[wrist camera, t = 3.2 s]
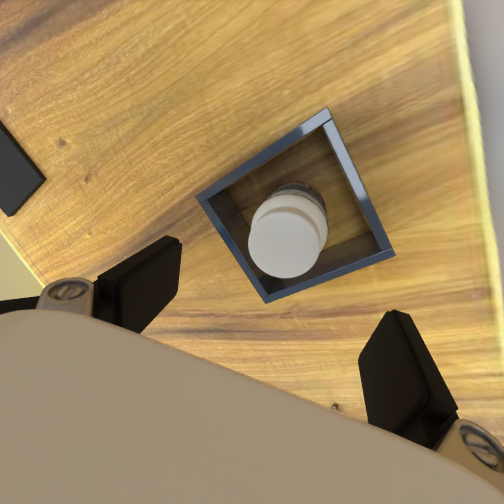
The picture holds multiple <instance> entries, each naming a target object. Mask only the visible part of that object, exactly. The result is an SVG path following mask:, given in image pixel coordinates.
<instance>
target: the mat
mask: <svg viewBox="0 0 504 504" xmlns="http://www.w3.org/2000/svg"><path fill="white" fill-rule="evenodd" d="M45 180H46V178H45V176H44V175H43V174H42V173H41V171H40V170H39V169H38V168H37V166H36V165H35V164H34V163H33V161H32V160H31V159H30V158H29V156H28V155H27V154H26V153H25V152H24V150H23V149H22V148H21V147H20V145H19V144H18V143H17V142H16V140H15V139H14V138H13V137H12V135H11V134H10V133H9V132H8V130H7V129H6V128H5V127H4V125H3V124H2V123H1V122H0V208H1V210H2V211H3V212H4V213H5V214H6V215H7V216H8V217H10V216H13V215H14V214H15V213H16V212H17V211H18V209H19V208H20V207H21V206H22V205H23V204H24V203H25V202H26V201H27V200H28V199H29V197H30V196H31V195H32V194H33V193H34V192H35V191H36V190H37V189H38V188H39V187H40V186H41V184H42V183H43V182H44V181H45Z"/></svg>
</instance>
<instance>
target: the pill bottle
mask: <svg viewBox="0 0 504 504" xmlns="http://www.w3.org/2000/svg"><path fill="white" fill-rule="evenodd" d="M327 235H328V223H327V217H326V210H325V205H324V201H323V199H322V197H321V195H320V194H319V192H318V191H317V190H316V189H315V188H313V187H312V186H310V185H308V184H306V183H302V182H290V183H286V184H284V185H282V186H280V187H278V188H277V189H276V190H275V191H274V192H273V193H272V194H271V195H270V196H269V197H268V198H267V199H266V201H265V202H264V203H263V204H262V205H261V206H260V207H259V208H258V209H257V211H256V212H255V214H254V217H253V220H252V224H251V232H250V235H249V239H248V248H249V252H250V255H251V257H252V259H253V261H254V262H255V264H256V265H257V266H258V267H259V268H260V269H261V270H262V271H264V272H265V273H267V274H269V275H271V276H274V277H278V278H293V277H297V276H300V275H302V274H304V273H305V272H307V271H308V270H309V269H310V268H311V267H312V266H313V265H314V264H315V262H316V260H317V258H318V256H319V253H320V252H321V250H322V249H323V247H324V245H325V243H326V240H327Z"/></svg>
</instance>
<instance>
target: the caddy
mask: <svg viewBox="0 0 504 504" xmlns="http://www.w3.org/2000/svg"><path fill="white" fill-rule="evenodd" d="M320 128H321V130H322V132H323V134H324V136H325V138H326V140H327V142H328V144H329V146H330V148H331V151H332V153H333V155H334V157H335V159H336V161H337V163H338V165H339V167H340V169H341V171H342V174H343V176H344V178H345V180H346V182H347V184H348V186H349V188H350V190H351V192H352V194H353V197H354V199H355V201H356V203H357V205H358V207H359V209H360V211H361V213H362V215H363V218H364V220H365V222H366V224H367V226H368V228H369V230H370V231H369V232H367V233H364V234H362V235H360V236H357V237H355V238H353V239H350V240H348V241H346V242H343V243H341V244H339V245H336V246H334V247H332V248H329V249H327V250H324V251H322V252H320V253H319V256H318V258H317V260H316V262H315V264H314V265H313V266H312V267H311V268H310V269H309V270H308V271H307V272H305V273H304V274H302V275H300V276H297V277H293V278H278V277H274V276H271V275H269V274H267V273H265V272H264V271H262V270H261V269H260V268H259V267H258V266H257V265H256V264H255V262H254V261H253V259H252V257H251V255H250V252H249V248H248V239H249V235H250V232H251V230H250V228H249V226H248V225H247V223H246V221H245V220H244V218H243V217H242V215H241V213H240V212H239V210H238V208H237V207H236V205H235V204H234V202H233V200H232V199H231V197H230V195H229V194H228V192H227V191H226V189H228V188H229V187H231V186H232V185H234V184H235V183H237V182H238V181H240V180H242V179H243V178H245V177H246V176H248V175H249V174H251V173H252V172H254V171H255V170H257V169H259V168H260V167H262V166H263V165H265V164H266V163H268V162H269V161H271V160H272V159H274V158H276V157H277V156H279V155H280V154H282V153H283V152H285V151H286V150H288V149H289V148H291V147H293V146H294V145H296V144H297V143H299V142H300V141H302V140H303V139H305V138H306V137H308V136H310V135H311V134H313V133H314V132H316V131H317V130H319V129H320ZM195 197H196V199H197V200H198V202H199V203H200V205H201V207H202V208H203V210H204V211H205V213H206V214H207V216H208V217H209V219H210V220H211V222H212V223H213V225H214V226H215V228H216V229H217V231H218V233H219V234H220V236H221V237H222V239H223V240H224V242H225V243H226V245H227V246H228V248H229V249H230V251H231V252H232V254H233V255H234V257H235V259H236V260H237V262H238V263H239V265H240V266H241V268H242V269H243V271H244V272H245V274H246V275H247V277H248V278H249V280H250V282H251V283H252V285H253V286H254V288H255V289H256V291H257V292H258V294H259V295H260V297H261V298H262V300H263V301H264V303H265V304H267V303H270V302H272V301H275V300H278V299H280V298H283V297H286V296H289V295H291V294H294V293H297V292H299V291H302V290H305V289H307V288H310V287H313V286H316V285H318V284H321V283H324V282H326V281H329V280H332V279H334V278H337V277H340V276H342V275H345V274H348V273H351V272H353V271H356V270H359V269H361V268H364V267H367V266H369V265H372V264H375V263H378V262H380V261H383V260H386V259H388V258H391V257H394V256H396V254H395V252H394V250H393V248H392V246H391V243H390V241H389V239H388V237H387V235H386V232H385V230H384V228H383V226H382V224H381V222H380V219H379V217H378V215H377V213H376V211H375V209H374V206H373V204H372V202H371V200H370V198H369V196H368V193H367V191H366V189H365V187H364V185H363V183H362V180H361V178H360V176H359V174H358V172H357V170H356V167H355V165H354V163H353V161H352V159H351V157H350V154H349V152H348V150H347V148H346V146H345V143H344V141H343V139H342V137H341V135H340V133H339V130H338V128H337V126H336V124H335V122H334V120H333V118H332V115H331V113H330V111H329V109H328V107H326V108H324V109H323V110H321V111H320V112H318V113H317V114H315V115H314V116H312V117H311V118H309V119H308V120H306V121H305V122H304V123H302V124H301V125H299V126H298V127H296V128H295V129H293V130H292V131H290V132H289V133H287V134H286V135H284V136H283V137H281V138H280V139H278V140H277V141H276V142H274V143H273V144H271V145H270V146H268V147H267V148H265V149H264V150H262V151H261V152H259V153H258V154H256V155H255V156H253V157H252V158H250V159H249V160H247V161H246V162H245V163H243V164H242V165H240V166H239V167H237V168H236V169H234V170H233V171H231V172H230V173H228V174H227V175H225V176H224V177H222V178H221V179H219V180H218V181H217V182H215V183H214V184H212V185H211V186H209V187H208V188H206V189H205V190H203V191H202V192H200V193H199V194H197V195H196V196H195Z"/></svg>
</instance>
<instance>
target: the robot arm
mask: <svg viewBox="0 0 504 504" xmlns="http://www.w3.org/2000/svg"><path fill="white" fill-rule="evenodd" d="M181 253H182V244H181V243H179V239H177V238H174V237H171V236H167V235H166V236H164V237H162V238H161V239H159V240H157V241H156V242H154V243H152V244H151V245H149V246H147V247H146V248H144V249H142V250H141V251H139V252H137V253H136V254H134V255H132V256H131V257H129V258H127V259H126V260H124V261H122V262H121V263H119V264H117V265H116V266H114V267H112V268H111V269H109V270H107V271H106V272H104V273H103V274H101V275H99V276H98V280H96V281H94V282H93V283H92V282H91V281H89V280H87V279H84V278H79V277H71V278H64V279H60V280H57V281H54V282H52V283H50V284H49V285H47V286H46V287H45V288H44V289H43V291H42V293H41V295H40V296H36V297H28V298H20V299H12V300H4V301H0V504H504V446H503V445H502V444H501V443H500V442H499V441H498V440H497V439H496V438H495V437H494V436H493V435H492V434H490V433H489V432H488V431H486V430H485V429H484V428H482V427H481V426H479V425H477V424H475V423H474V422H472V421H469V420H465V419H459V417H458V415H457V413H456V410H458V407H457V405H456V403H455V401H454V399H453V397H452V395H451V393H450V391H449V389H448V387H447V385H446V383H445V382H444V380H443V378H442V376H441V374H440V372H439V370H438V368H437V366H436V364H435V362H434V360H433V358H432V357H431V355H430V353H429V351H428V349H427V347H426V345H425V343H424V341H423V339H422V337H421V335H420V333H419V331H418V330H417V328H416V326H415V324H414V322H413V320H412V318H411V316H410V315H409V314H406V313H403V312H400V311H397V310H392V311H391V312H389V311H387V312H386V313H385V315H384V316H383V318H382V319H381V321H380V323H379V324H378V326H377V328H376V329H375V331H374V332H373V334H372V336H371V337H370V339H369V341H368V342H367V344H366V345H365V347H364V349H363V350H362V352H361V354H360V355H359V359H358V365H359V370H360V376H361V382H362V388H363V394H364V400H365V405H366V411H367V417H368V423H369V424H368V423H366V422H364V421H361V420H359V419H356V418H354V417H351V416H349V415H346V414H344V413H341V412H339V411H336V410H334V409H331V408H329V407H326V406H323V405H321V404H318V403H316V402H313V401H311V400H308V399H306V398H303V397H301V396H298V395H296V394H293V393H291V392H288V391H286V390H283V389H281V388H278V387H275V386H273V385H270V384H268V383H265V382H263V381H260V380H258V379H255V378H252V377H250V376H247V375H245V374H242V373H240V372H237V371H234V370H232V369H229V368H227V367H224V366H222V365H219V364H216V363H214V362H211V361H209V360H206V359H204V358H201V357H198V356H196V355H193V354H191V353H188V352H185V351H183V350H180V349H177V348H175V347H172V346H170V345H167V344H164V343H162V342H159V341H157V340H154V339H151V338H149V337H146V336H143V335H141V334H140V333H141V332H142V331H143V330H144V329H145V328H146V327H147V326H148V325H149V324H150V322H151V321H152V320H153V319H154V318H155V317H156V316H157V315H158V314H159V313H160V312H161V311H162V310H163V309H164V308H165V307H166V305H167V304H168V303H169V302H170V301H171V300H172V299H173V298H174V297H175V296H176V294H177V291H178V283H179V273H180V263H181Z"/></svg>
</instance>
